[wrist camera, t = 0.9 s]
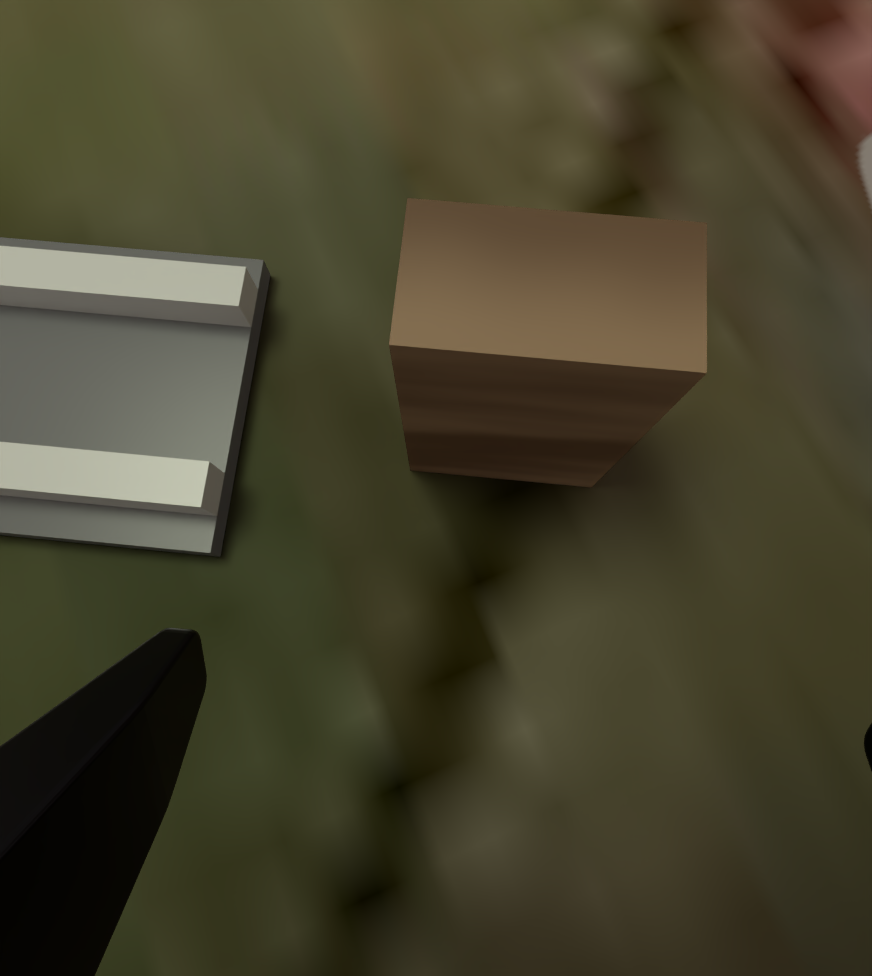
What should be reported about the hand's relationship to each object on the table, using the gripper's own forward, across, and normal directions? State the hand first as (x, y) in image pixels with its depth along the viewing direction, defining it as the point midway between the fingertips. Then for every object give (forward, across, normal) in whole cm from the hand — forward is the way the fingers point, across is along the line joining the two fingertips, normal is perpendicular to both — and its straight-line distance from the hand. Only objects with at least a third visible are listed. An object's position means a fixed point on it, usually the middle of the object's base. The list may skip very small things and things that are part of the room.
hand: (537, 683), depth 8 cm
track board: (+15, +18, +4) cm, 24 cm away
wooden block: (+15, -1, +4) cm, 16 cm away
